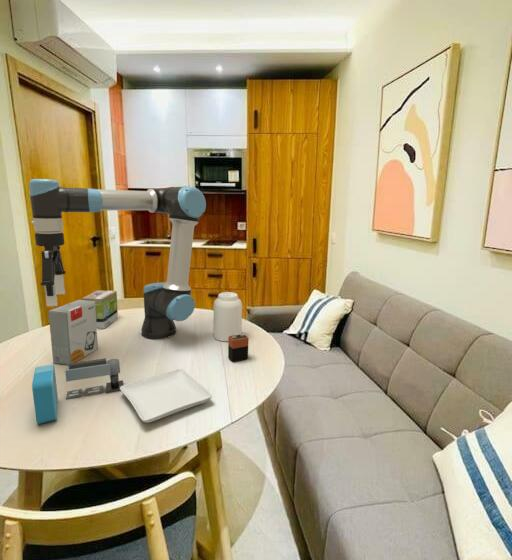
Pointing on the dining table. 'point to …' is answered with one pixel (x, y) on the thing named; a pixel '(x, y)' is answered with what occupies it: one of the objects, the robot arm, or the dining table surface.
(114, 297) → the tea box
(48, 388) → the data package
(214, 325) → the white jar
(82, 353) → the hard drive box
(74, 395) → the label plate
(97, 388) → the label plate
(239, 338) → the battery
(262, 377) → the dining table surface
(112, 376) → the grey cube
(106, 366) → the swing arm
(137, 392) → the salad plate
